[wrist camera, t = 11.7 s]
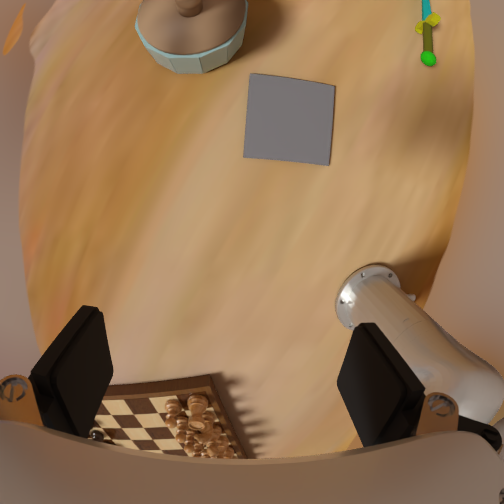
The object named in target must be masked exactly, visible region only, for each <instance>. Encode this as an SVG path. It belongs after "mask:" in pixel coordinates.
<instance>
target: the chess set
mask: <svg viewBox="0 0 504 504" xmlns="http://www.w3.org/2000/svg"><path fill="white" fill-rule="evenodd" d="M87 439H90V440H94V441H98V442H102V443H107V444H111V445H116V446H120V447H125V448H131V449H136V450H142V451H148V452H154V453H161V454H169V455H178V456H188V457H201V458H218V459H248V458H247V456H246V454H245V452H244V450H243V448H242V446H241V444H240V442H239V440H238V438H237V435H236V433H235V431H234V429H233V427H232V425H231V423H230V420H229V418H228V416H227V414H226V411H225V409H224V407H223V405H222V402H221V400H220V398H219V395H218V393H217V391H216V388H215V386H214V384H213V381H212V379H211V376H210V374H209V375H202V376H196V377H189V378H182V379H174V380H166V381H158V382H148V383H138V384H126V385H112V386H108V388H107V390H106V393H105V395H104V397H103V400H102V402H101V405H100V407H99V409H98V412H97V414H96V417H95V419H94V422H93V425H92V427H91V430H90V432H89V435H88V438H87Z"/></svg>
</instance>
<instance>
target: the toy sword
mask: <svg viewBox="0 0 504 504" xmlns="http://www.w3.org/2000/svg"><path fill="white" fill-rule="evenodd" d="M440 20H441V18H440V16H439V15H437V14H436V13H434V12H433V13H432V14H431V7H430V2H429V0H422V21H420V22H418V24H417V25H416V27H415V31H416V32H418V33H420V34H422V33H423V51H424V52H422V54H421V61H422V62H423V63H424V64H425V65H427V66H433V65H434V64H435V63H436V57H435V55H434V54H433V40H432V27H434V26H435V25H437V24H438V22H439V21H440Z"/></svg>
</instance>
